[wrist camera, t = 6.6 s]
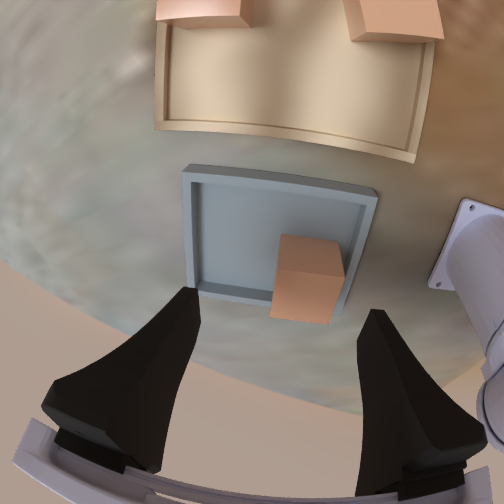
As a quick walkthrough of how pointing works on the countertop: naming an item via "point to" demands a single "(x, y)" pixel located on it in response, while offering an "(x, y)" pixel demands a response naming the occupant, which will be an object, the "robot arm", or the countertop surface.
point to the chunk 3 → (393, 20)
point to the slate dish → (264, 227)
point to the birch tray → (294, 80)
